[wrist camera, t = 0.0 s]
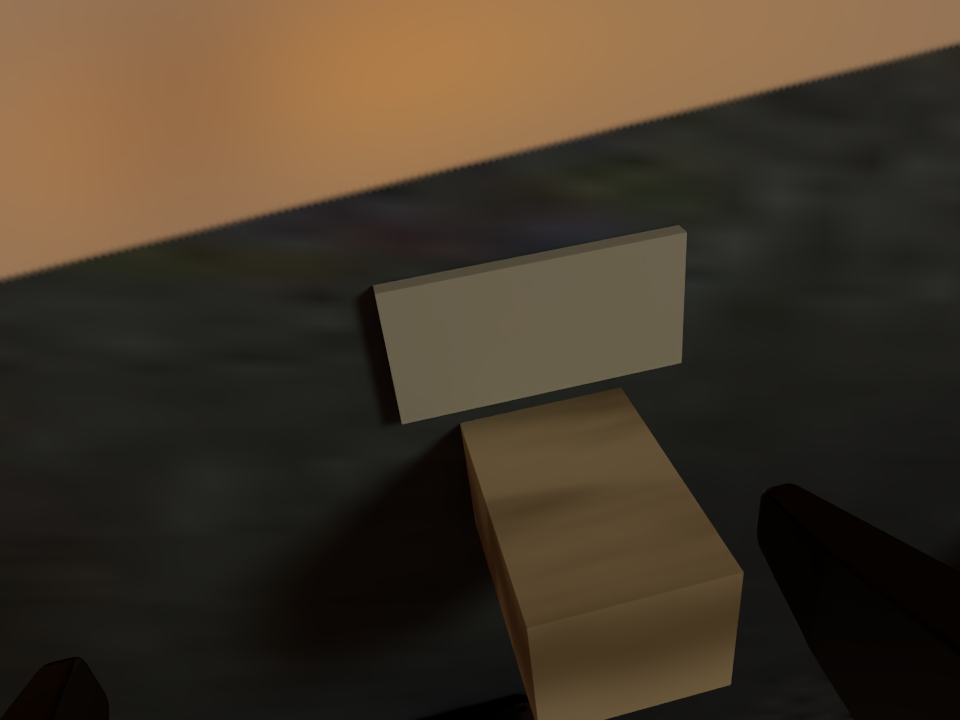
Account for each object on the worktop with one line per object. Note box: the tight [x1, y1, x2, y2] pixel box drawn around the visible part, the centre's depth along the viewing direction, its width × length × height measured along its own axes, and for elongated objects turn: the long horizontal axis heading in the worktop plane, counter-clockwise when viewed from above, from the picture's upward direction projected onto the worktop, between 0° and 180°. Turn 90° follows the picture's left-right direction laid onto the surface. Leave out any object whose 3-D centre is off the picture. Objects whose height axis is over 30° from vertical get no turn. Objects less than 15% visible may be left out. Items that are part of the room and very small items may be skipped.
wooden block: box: [460, 388, 744, 720], centre depth 25 cm, size 5×6×9 cm
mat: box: [373, 225, 687, 424], centre depth 26 cm, size 5×10×1 cm, turn 97°
